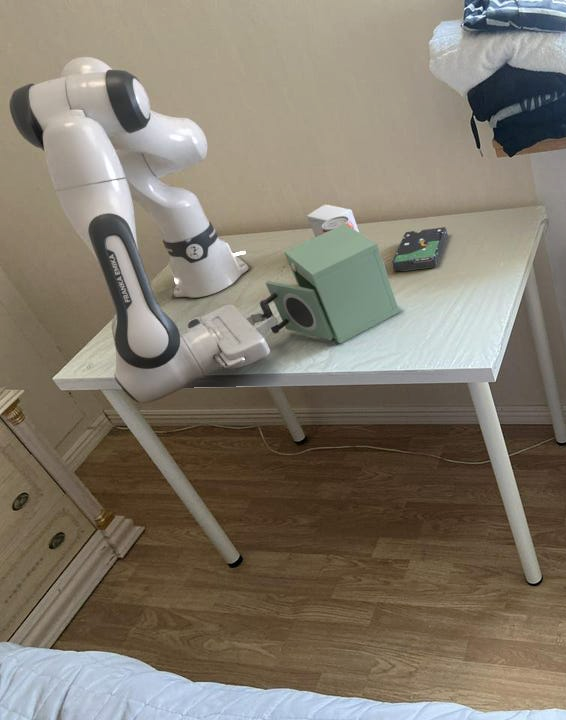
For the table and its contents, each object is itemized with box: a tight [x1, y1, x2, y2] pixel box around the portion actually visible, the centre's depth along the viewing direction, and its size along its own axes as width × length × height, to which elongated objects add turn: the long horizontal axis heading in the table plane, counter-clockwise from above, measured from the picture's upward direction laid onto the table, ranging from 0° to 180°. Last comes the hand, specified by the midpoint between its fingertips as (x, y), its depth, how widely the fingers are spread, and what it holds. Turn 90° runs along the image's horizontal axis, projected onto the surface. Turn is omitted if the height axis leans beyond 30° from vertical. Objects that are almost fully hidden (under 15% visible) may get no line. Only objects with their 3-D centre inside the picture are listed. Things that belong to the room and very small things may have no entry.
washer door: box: [259, 280, 334, 341], centre depth 137 cm, size 5×13×11 cm, turn 56°
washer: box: [283, 224, 400, 344], centre depth 142 cm, size 14×15×16 cm
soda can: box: [322, 216, 355, 234], centre depth 158 cm, size 7×7×13 cm
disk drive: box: [391, 226, 449, 272], centre depth 161 cm, size 10×3×15 cm
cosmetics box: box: [306, 203, 360, 238], centre depth 170 cm, size 10×6×10 cm, turn 50°
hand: (272, 316), depth 138 cm, fingers closed
